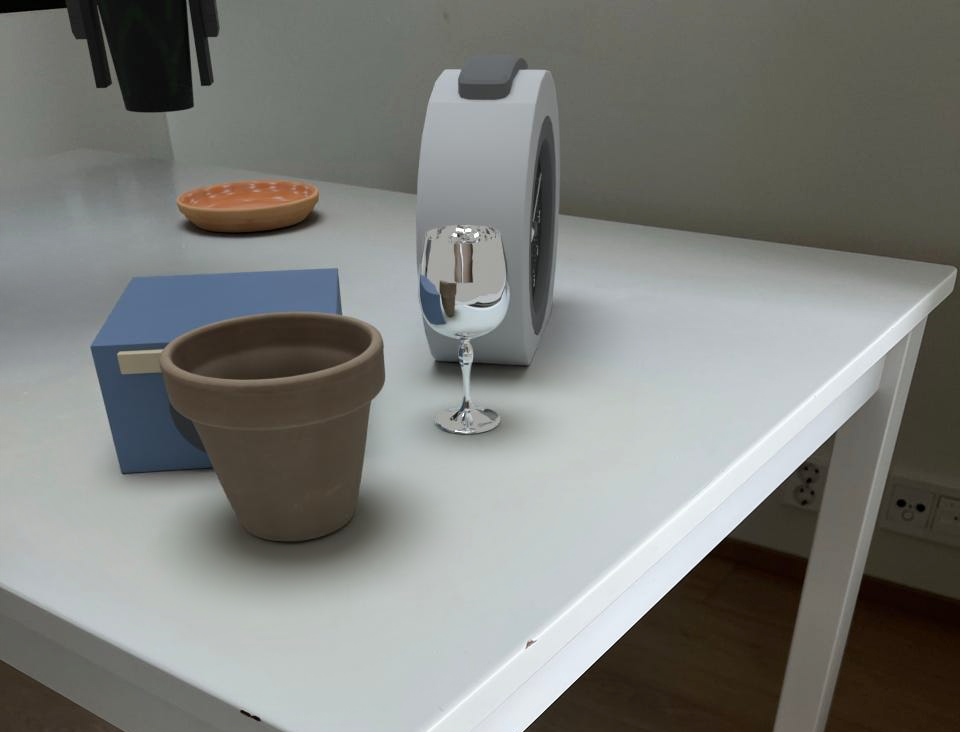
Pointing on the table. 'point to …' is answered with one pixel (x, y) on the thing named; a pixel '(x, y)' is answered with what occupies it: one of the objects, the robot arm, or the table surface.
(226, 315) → the blue tabbed box
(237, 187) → the saucer
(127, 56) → the cup
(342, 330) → the flower pot
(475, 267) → the wineglass
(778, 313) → the table surface
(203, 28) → the robot arm
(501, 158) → the alarm clock
